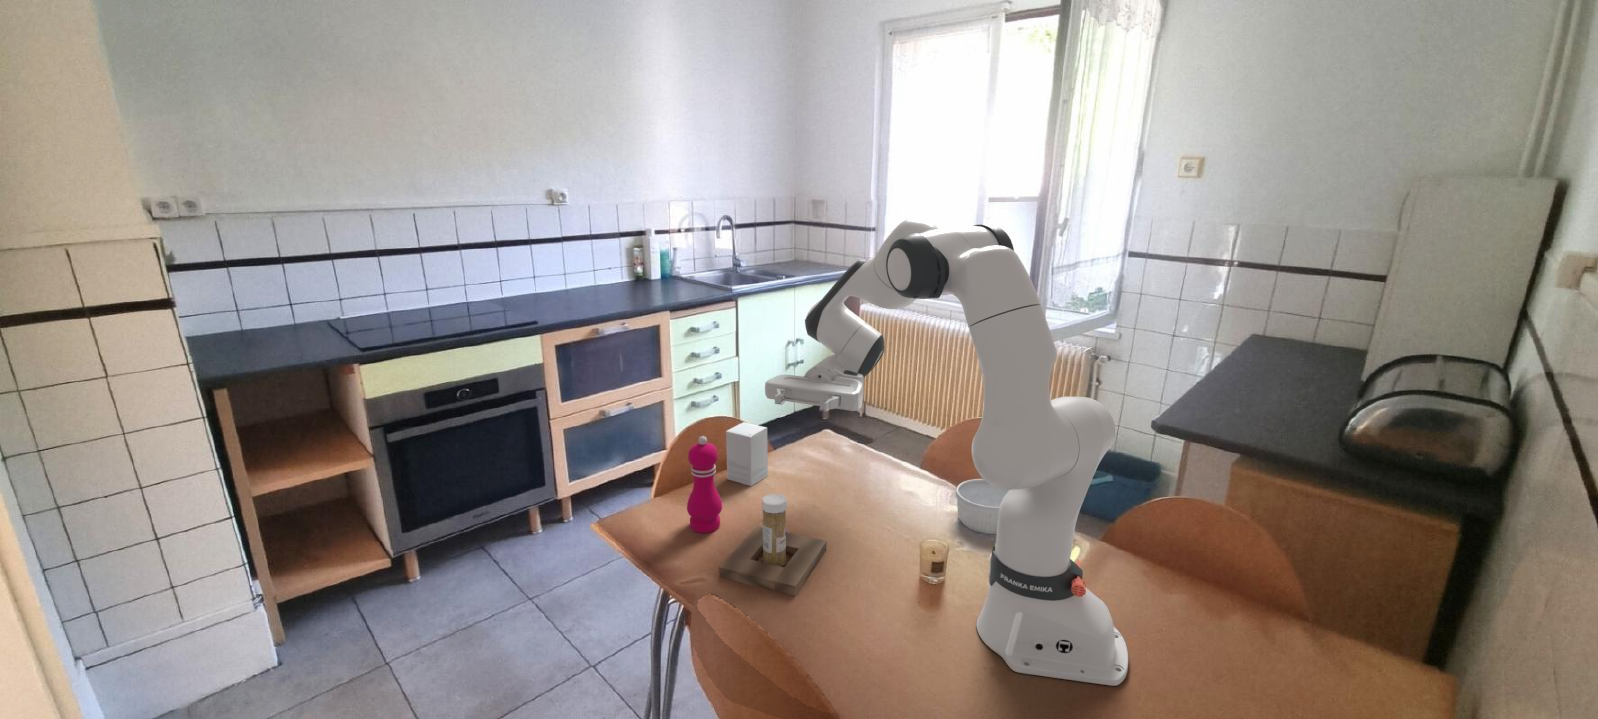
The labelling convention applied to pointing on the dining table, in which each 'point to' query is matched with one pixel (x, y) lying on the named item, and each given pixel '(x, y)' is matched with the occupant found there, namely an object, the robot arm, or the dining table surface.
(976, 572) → the dining table surface
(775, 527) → the sprinkles bottle
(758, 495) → the dining table surface
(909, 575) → the dining table surface
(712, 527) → the pepper mill
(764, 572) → the wooden square frame
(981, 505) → the ramekin
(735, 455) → the supplement box
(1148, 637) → the dining table surface
